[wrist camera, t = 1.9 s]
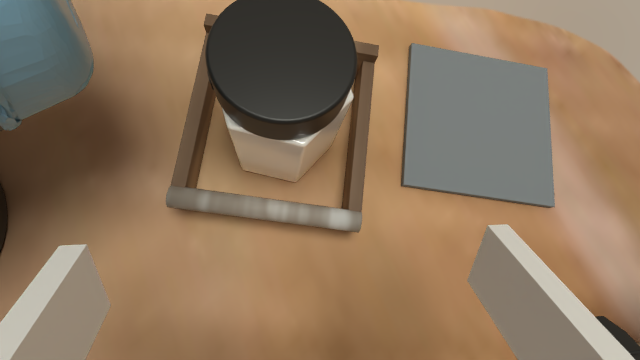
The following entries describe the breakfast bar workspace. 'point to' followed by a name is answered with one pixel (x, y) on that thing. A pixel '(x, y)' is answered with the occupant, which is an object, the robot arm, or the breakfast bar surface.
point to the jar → (281, 81)
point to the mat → (477, 127)
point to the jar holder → (201, 200)
